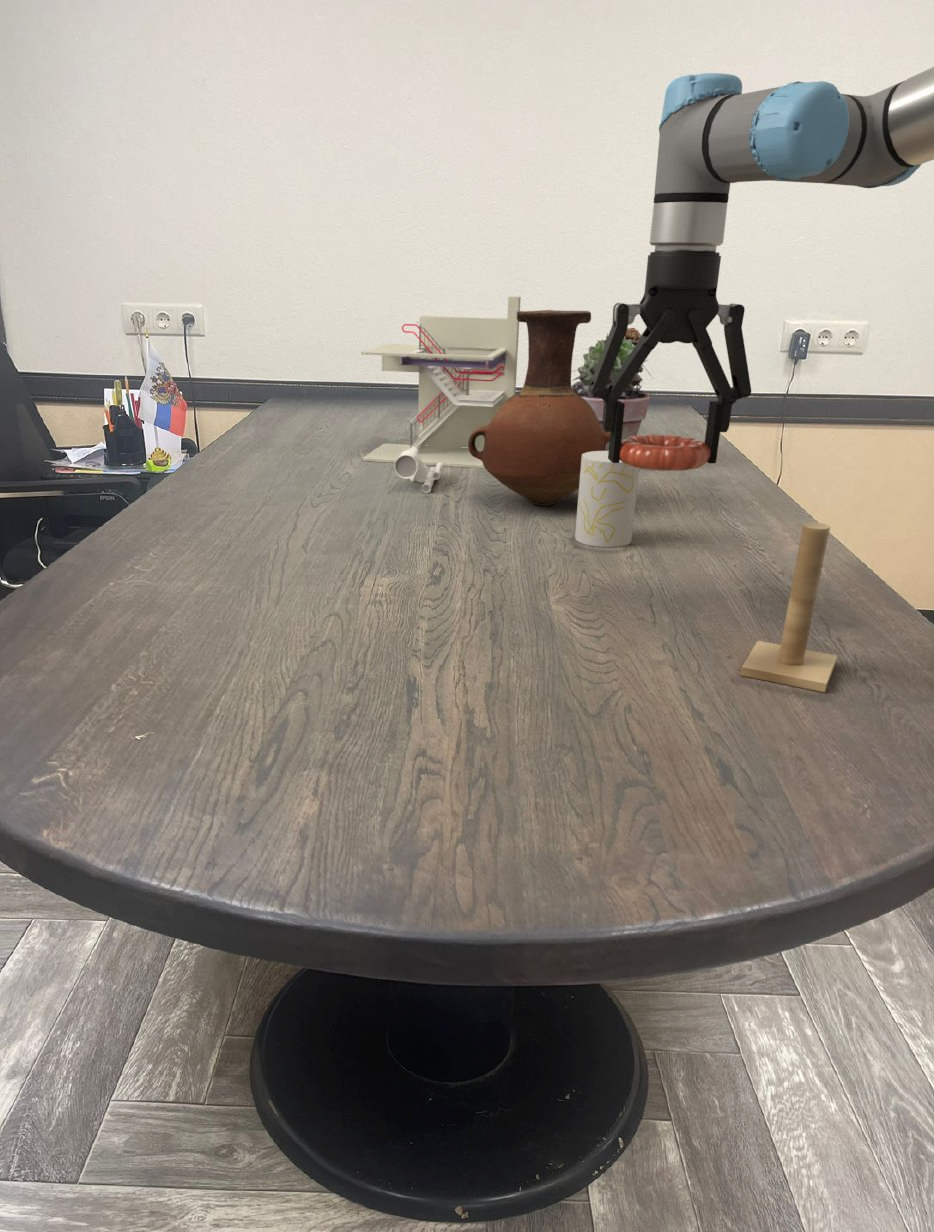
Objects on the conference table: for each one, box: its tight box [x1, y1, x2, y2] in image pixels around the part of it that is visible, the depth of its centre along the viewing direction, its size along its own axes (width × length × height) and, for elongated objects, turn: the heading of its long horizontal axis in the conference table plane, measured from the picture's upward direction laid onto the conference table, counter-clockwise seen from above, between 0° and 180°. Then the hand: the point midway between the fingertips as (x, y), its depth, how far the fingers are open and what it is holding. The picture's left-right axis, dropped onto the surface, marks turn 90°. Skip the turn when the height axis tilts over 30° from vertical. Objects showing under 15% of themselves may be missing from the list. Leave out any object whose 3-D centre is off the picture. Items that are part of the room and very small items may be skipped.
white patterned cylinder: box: [574, 451, 640, 548], centre depth 136 cm, size 8×8×12 cm
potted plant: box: [571, 327, 659, 451], centre depth 182 cm, size 18×20×25 cm
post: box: [740, 521, 839, 693], centre depth 93 cm, size 8×8×15 cm
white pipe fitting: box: [393, 447, 444, 494], centre depth 169 cm, size 8×14×5 cm
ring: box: [620, 434, 711, 472], centre depth 109 cm, size 10×10×3 cm
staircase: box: [360, 296, 521, 469], centre depth 184 cm, size 28×18×30 cm, turn 76°
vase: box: [468, 309, 610, 506], centre depth 152 cm, size 25×20×30 cm
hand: (661, 461), depth 109 cm, fingers closed on ring, 10 cm apart
